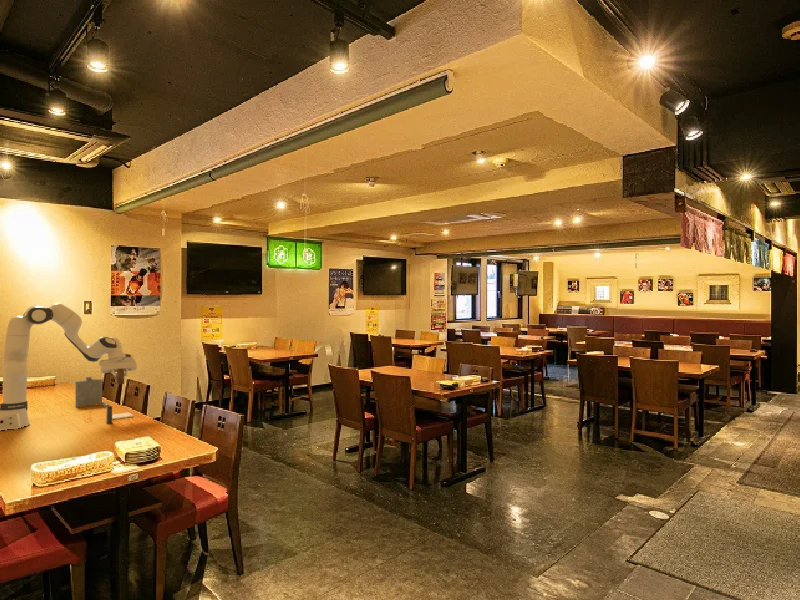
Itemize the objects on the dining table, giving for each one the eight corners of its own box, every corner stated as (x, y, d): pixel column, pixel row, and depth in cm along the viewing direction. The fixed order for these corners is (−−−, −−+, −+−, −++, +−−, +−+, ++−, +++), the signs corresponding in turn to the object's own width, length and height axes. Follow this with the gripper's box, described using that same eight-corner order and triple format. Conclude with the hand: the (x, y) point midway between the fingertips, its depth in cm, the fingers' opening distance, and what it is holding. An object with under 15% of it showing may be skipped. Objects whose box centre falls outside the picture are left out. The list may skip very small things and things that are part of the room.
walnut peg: (118, 384, 318) (118, 369, 318) (116, 383, 321) (116, 369, 321) (125, 383, 320) (125, 369, 320) (123, 383, 323) (123, 368, 323)
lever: (107, 423, 302) (107, 406, 302) (100, 418, 316) (100, 401, 316) (112, 423, 304) (112, 405, 304) (104, 418, 317) (104, 401, 317)
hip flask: (75, 407, 349) (75, 378, 349) (74, 406, 352) (75, 377, 352) (102, 404, 359) (102, 376, 359) (101, 403, 362) (101, 375, 363)
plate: (112, 420, 312) (112, 418, 312) (107, 416, 321) (107, 415, 321) (133, 417, 320) (133, 415, 320) (128, 413, 329) (128, 412, 329)
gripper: (99, 357, 319) (103, 374, 311) (134, 354, 332) (139, 371, 325) (97, 363, 322) (101, 380, 315) (133, 361, 336) (137, 377, 329)
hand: (120, 376), depth 320 cm, fingers closed on walnut peg, 4 cm apart
